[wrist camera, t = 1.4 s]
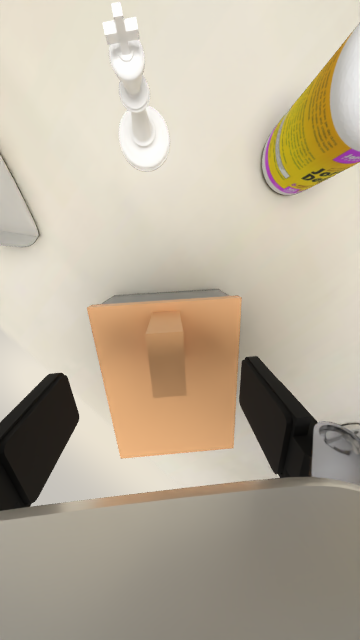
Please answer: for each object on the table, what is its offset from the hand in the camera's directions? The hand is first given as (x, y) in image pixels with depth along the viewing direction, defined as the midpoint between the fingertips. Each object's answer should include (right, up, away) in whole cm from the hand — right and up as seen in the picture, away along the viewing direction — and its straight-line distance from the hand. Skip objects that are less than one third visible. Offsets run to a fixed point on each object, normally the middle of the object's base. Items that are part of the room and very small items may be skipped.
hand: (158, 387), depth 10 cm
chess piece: (-2, +21, +8) cm, 23 cm away
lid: (0, -3, +10) cm, 11 cm away
